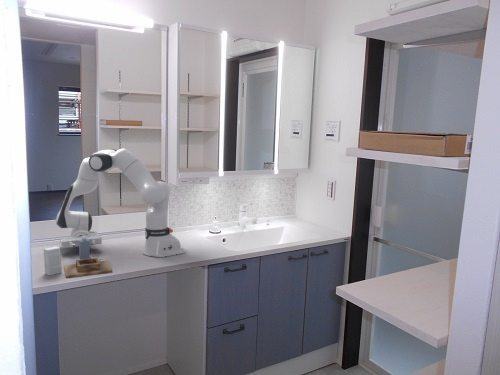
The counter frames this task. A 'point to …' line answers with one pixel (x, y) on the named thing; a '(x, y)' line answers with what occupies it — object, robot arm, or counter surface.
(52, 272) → the skincare box
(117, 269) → the counter surface
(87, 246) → the soap bottle
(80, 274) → the bottle caddy
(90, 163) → the robot arm
